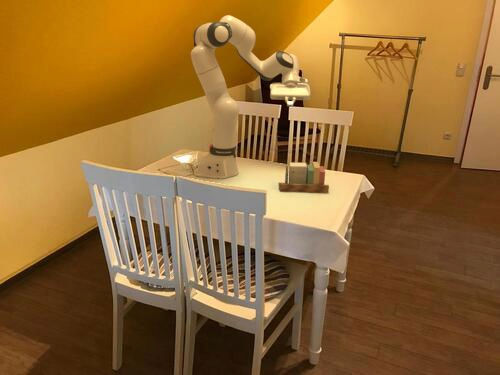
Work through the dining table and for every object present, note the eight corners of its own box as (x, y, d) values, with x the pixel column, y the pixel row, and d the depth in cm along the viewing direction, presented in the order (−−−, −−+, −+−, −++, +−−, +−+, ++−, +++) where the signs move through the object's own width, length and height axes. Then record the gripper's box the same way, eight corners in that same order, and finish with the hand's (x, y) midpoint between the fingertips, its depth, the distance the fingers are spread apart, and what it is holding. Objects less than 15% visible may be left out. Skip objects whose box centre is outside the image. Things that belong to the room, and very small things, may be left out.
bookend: (278, 190, 194) (279, 171, 191) (278, 183, 202) (279, 165, 199) (287, 190, 194) (288, 172, 191) (287, 184, 202) (287, 166, 199)
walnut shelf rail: (279, 191, 193) (280, 184, 192) (279, 190, 194) (280, 183, 193) (328, 193, 192) (329, 186, 190) (328, 192, 193) (328, 184, 192)
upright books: (307, 191, 194) (308, 167, 189) (305, 184, 201) (307, 161, 197) (323, 191, 193) (325, 167, 189) (321, 185, 201) (323, 162, 197)
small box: (305, 183, 203) (306, 162, 199) (306, 187, 198) (307, 166, 194) (288, 183, 203) (289, 162, 200) (288, 187, 198) (289, 165, 194)
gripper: (270, 78, 214) (269, 101, 208) (310, 79, 213) (311, 102, 207) (270, 86, 220) (269, 108, 214) (309, 87, 219) (309, 109, 213)
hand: (290, 105), depth 211 cm, fingers closed
